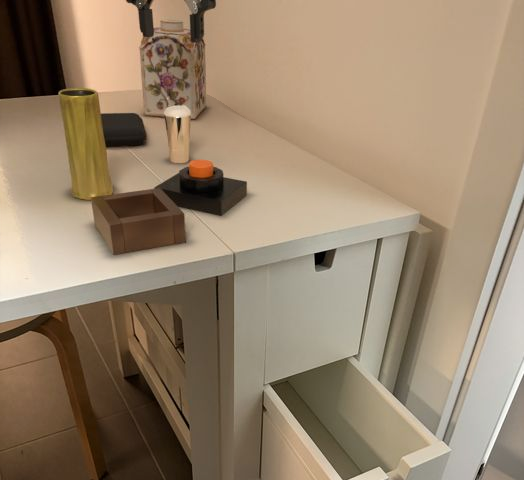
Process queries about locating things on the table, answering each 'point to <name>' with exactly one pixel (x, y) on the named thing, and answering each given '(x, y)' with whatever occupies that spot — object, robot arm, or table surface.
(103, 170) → the vase
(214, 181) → the confirm box
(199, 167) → the button
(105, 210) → the socket
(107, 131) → the carrying case
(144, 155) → the table surface
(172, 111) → the milkshake
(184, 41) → the decorative jar
